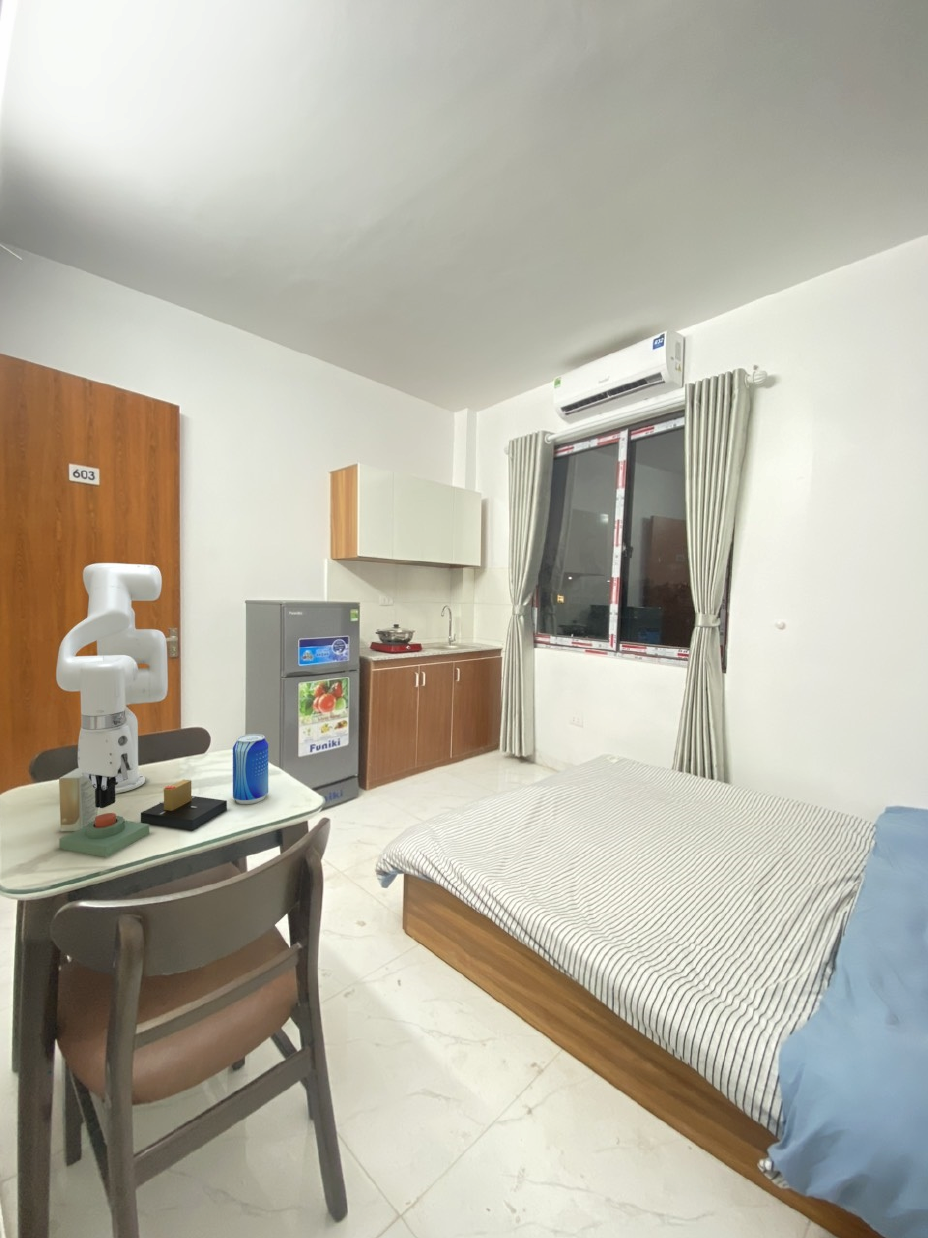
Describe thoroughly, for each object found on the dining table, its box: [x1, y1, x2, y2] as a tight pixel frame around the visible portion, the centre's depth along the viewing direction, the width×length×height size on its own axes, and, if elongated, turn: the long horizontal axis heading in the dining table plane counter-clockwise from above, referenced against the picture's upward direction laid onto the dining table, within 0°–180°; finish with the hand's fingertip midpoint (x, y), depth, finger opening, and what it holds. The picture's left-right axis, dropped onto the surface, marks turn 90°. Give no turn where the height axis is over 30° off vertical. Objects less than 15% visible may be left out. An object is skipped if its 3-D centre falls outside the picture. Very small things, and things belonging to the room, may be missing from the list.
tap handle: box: [163, 779, 193, 811], centre depth 117 cm, size 6×2×5 cm, turn 167°
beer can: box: [232, 733, 269, 805], centre depth 127 cm, size 8×8×16 cm
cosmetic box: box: [58, 767, 99, 832], centre depth 111 cm, size 6×4×12 cm
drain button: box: [95, 812, 117, 828], centre depth 104 cm, size 4×4×2 cm
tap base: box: [140, 795, 228, 832], centre depth 117 cm, size 14×11×3 cm
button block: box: [58, 815, 150, 858], centre depth 104 cm, size 12×10×4 cm
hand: (105, 805), depth 105 cm, fingers closed
